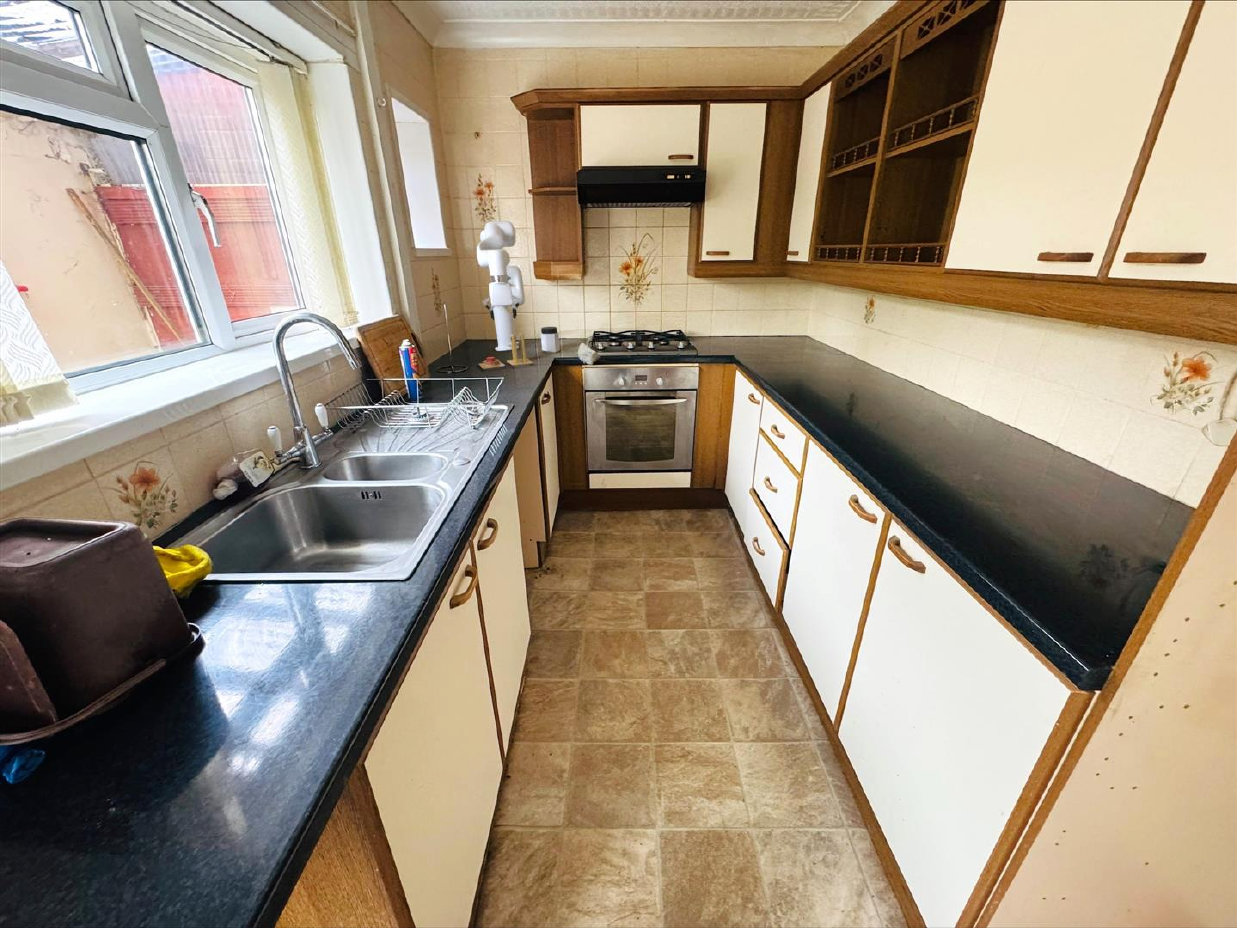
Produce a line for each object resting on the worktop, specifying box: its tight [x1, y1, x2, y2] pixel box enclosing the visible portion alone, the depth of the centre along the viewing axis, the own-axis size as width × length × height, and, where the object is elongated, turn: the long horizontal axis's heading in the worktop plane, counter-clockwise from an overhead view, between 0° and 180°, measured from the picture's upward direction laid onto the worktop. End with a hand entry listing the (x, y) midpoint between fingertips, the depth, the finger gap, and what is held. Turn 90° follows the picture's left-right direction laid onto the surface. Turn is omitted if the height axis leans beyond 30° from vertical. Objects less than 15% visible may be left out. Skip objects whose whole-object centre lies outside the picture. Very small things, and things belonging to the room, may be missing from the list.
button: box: [485, 356, 496, 362], centre depth 232 cm, size 4×4×2 cm
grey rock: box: [577, 342, 601, 366], centre depth 232 cm, size 15×7×15 cm
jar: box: [540, 326, 560, 354], centre depth 261 cm, size 9×8×12 cm
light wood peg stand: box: [506, 332, 535, 367], centre depth 235 cm, size 12×10×14 cm
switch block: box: [478, 358, 506, 370], centre depth 233 cm, size 12×10×3 cm
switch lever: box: [508, 334, 521, 346], centre depth 237 cm, size 12×5×2 cm, turn 24°
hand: (504, 319), depth 234 cm, fingers open, 9 cm apart
